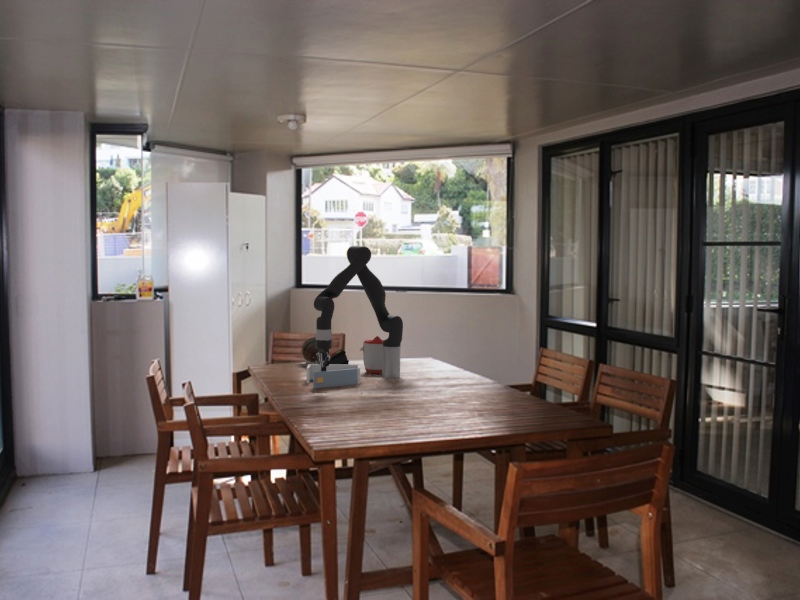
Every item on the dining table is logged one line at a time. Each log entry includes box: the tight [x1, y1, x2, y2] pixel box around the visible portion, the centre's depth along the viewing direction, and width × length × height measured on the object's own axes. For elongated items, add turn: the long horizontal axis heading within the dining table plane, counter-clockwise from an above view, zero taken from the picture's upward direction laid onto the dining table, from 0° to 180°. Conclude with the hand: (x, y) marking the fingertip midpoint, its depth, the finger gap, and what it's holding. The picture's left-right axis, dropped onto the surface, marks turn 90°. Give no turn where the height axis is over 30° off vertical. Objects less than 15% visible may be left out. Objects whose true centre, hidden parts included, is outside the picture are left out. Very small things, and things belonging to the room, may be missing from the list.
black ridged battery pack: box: [329, 348, 350, 365], centre depth 381 cm, size 4×13×15 cm, turn 112°
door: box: [312, 369, 358, 389], centre depth 352 cm, size 2×23×8 cm, turn 122°
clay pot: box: [301, 336, 319, 365], centre depth 419 cm, size 15×15×25 cm
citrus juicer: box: [359, 335, 385, 374], centre depth 401 cm, size 16×17×20 cm
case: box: [306, 364, 361, 385], centre depth 364 cm, size 12×26×9 cm, turn 93°
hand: (323, 374), depth 352 cm, fingers closed
